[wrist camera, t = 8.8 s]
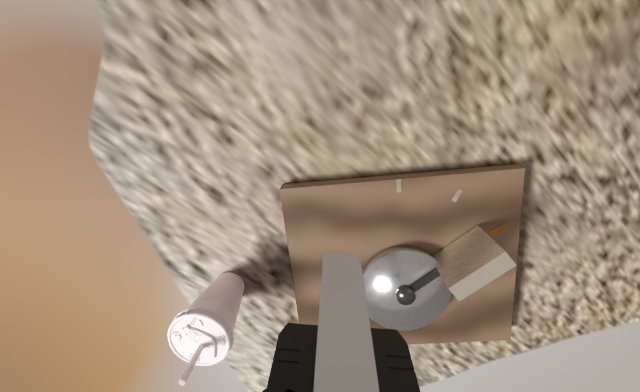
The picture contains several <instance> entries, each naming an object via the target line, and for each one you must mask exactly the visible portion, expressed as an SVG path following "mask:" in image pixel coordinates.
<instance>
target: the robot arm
mask: <svg viewBox="0 0 640 392" xmlns="http://www.w3.org/2000/svg"><path fill="white" fill-rule="evenodd" d="M263 392H420V389H419V385H418V382H417V378H416V374H415V372H414V367H413V363H412V360H411V356H410V353H409V349H408V345H407V342H406V341H405V339H404V338H403V337H402V336H401V334H400V333H399V332H398V330H395V329H381V328H370V322H369V315H368V308H367V301H366V293H365V286H364V279H363V272H362V265H361V258H360V255H354V254H338V253H323V264H322V278H321V292H320V306H319V320H318V325H309V324H295V323H288V324H287V325H286V326H285V327H284V329H283V330H282V331H281V332H280V334H279V336H278V341H277V345H276V351H275V354H274V359H273V363H272V368H271V372H270V377H269V381H268V386H267V389H265V390H264V391H263Z"/></svg>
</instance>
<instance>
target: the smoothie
mask: <svg viewBox="0 0 640 392" xmlns="http://www.w3.org/2000/svg"><path fill="white" fill-rule="evenodd" d="M244 288H245V285H244V282H243V280H242V278H241V277H240V276H238V275H237V274H235V273H231V272H226V273H223V274H221V275H219V276H218V277H217V278H216V280H215V281H214V282H213V283H212V284H211V285H210V286H209V287H208V288H207V289H206V290H205V291H204V292H203V293H202V294H201V295H200V296H199V297H198V298H197V299H196V300H195V301H194V302H193V303H192V304H191V305H190V306H189V307H188V309H186V310H184V311H182V312H180V313H179V314H178V315H177V316H176V317H175V318H174V320H173V322H172V323H171V325H170V327H169V329H168V334H167V337H168V342H169V345H170V347H171V349H172V350H173V352H174V353H175V354H176V355H177V356H178V357H180V358H181V359H182V360H184V361H186V362H188V363H189V364H188V366H187V368H186V370H185V371H184V374H183V375H182V377H181V379H180V381H179V384H180V385H185V383H186V381H187V379H188V377H189V375H190V373H191V372H192V370H193V368H194V366H195V365H198V366H210V365H214V364H217V363H219V362H220V361H222V360H223V359H224V358H225V357H226V356H227V355H228V353H229V350H230V349H231V347H232V345H233V340H234V337H233V330H234V326H235V322H236V318H237V315H238V311H239V307H240V303H241V300H242V296H243V292H244Z"/></svg>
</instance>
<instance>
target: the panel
mask: <svg viewBox="0 0 640 392" xmlns="http://www.w3.org/2000/svg"><path fill="white" fill-rule="evenodd" d="M524 176H525V168H523V167H521V166H518V165H516V164H510V165H499V166H487V167H476V168H464V169H453V170H441V171H430V172H418V173H407V174H395V175H383V176H372V177H360V178H349V179H337V180H326V181H314V182H303V183H291V184H283V185H282V186H281V188H280V195H281V202H282V208H283V215H284V222H285V229H286V236H287V242H288V249H289V256H290V263H291V270H292V276H293V283H294V290H295V297H296V304H297V310H298V317H299V324H309V325H318V320H319V306H320V292H321V278H322V264H323V253H338V254H354V255H360V258H361V265H362V269H363V267H364V266H365V264H366V263H367V262H368V261H369V260H370V259H371V258H372V257H373V256H374V255H376V254H377V253H379V252H381V251H383V250H385V249H387V248H390V247H395V246H415V247H418V248H422V249H424V250H426V251H428V252H430V253H431V254H433V255H435V254H436V253H438V252H439V251H441V250H442V249H443V248H445V247H446V246H448V245H449V244H451V243H452V242H454V241H455V240H457V239H458V238H460V237H461V236H462V235H464V234H465V233H467V232H468V231H470V230H471V229H473V228H474V227H476V226H477V225H478V226H479V227H480V228H481V229H483V230H484V231H485V232H486V233H487V234H488V235H489V236H490V237H491V238H492V239H493V240H494V241H495V242H496V243H497V244H498V245H499V246H500V247H502V248H503V249H504V250H505V251H506V252H507V254H508V255H509V256H510V258H511V259H512V260H513V261H514V263H515V264H516V265H517V257H518V245H519V234H520V222H521V211H522V199H523V188H524ZM516 268H517V266H515V267H513V268H512V269H510V270H509V271H507V272H505V273H504V274H502V275H501V276H499V277H498V278H496V279H494V280H493V281H491V282H490V283H488V284H486V285H485V286H483V287H482V288H480V289H478V290H477V291H475V292H474V293H472V294H470V295H469V296H467V297H466V298H464V299H462V300H461V301H458V299H457V298H456V297H455V296H454V295H453V294H452V293H451V298H450V302H449V304H448V306H447V308H446V309H445V311H444V312H443V313H442V315H441V316H440V317H439V318H437V319H436V320H435V321H433V322H432V323H430V324H428V325H427V326H424V327H422V328H418V329H414V330H406V331H401V330H398V332H399V333H400V334H401V336H402V337H403V338H404V339H405V341H406V342H407V344H426V343H449V342H472V341H495V340H510V337H511V326H512V314H513V303H514V291H515V280H516ZM369 322H370V328H381V329H389V328H386V327H383V326H381V325H379V324H377V323H376V322H374V321H373V320H372V319H371V318H370V317H369Z"/></svg>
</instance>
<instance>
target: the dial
mask: <svg viewBox="0 0 640 392" xmlns="http://www.w3.org/2000/svg"><path fill="white" fill-rule="evenodd" d="M515 266H517V265H516V264H515V263H514V261H513V260H512V259H511V258H510V256H509V255H508V254H507V252H506V251H505V250H504V249H503V248H502V247H500V246H499V245H498V244H497V243H496V242H495V241H494V240H493V239H492V238H491V237H490V236H489V235H488V234H487V233H486V232H485V231H484V230H483V229H481V228H480V227H479V226H478V225H477V226H476V227H474V228H473V229H471V230H470V231H468V232H467V233H465V234H464V235H462V236H461V237H460V238H458V239H457V240H455V241H454V242H452V243H451V244H449V245H448V246H446V247H445V248H443V249H442V250H441V251H439V252H438V253H436V254H435V255H433V254H431V253H430V252H428V251H426V250H424V249H422V248H418V247H415V246H395V247H390V248H387V249H385V250H383V251H381V252H379V253H377V254H376V255H374V256H373V257H372V258H371V259H370V260H369V261H368V262H367V263H366V264H365V266H364V267H363V269H362V272H363V279H364V286H365V293H366V301H367V308H368V315H369V317H370V318H371V319H372V320H373V321H374V322H376V323H377V324H379V325H381V326H383V327H386V328H389V329H395V330H401V331H406V330H414V329H418V328H422V327H424V326H427V325H428V324H430V323H432V322H433V321H435V320H436V319H437V318H439V317H440V316H441V315H442V313H443V312H444V311H445V309H446V308H447V306H448V304H449V302H450V298H451V293H452V294H453V295H454V296H455V297H456V298H457V299H458V301H461V300H462V299H464V298H466V297H467V296H469V295H470V294H472V293H474V292H475V291H477V290H478V289H480V288H482V287H483V286H485V285H486V284H488V283H490V282H491V281H493V280H494V279H496V278H498V277H499V276H501V275H502V274H504V273H505V272H507V271H509V270H510V269H512V268H513V267H515Z"/></svg>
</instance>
